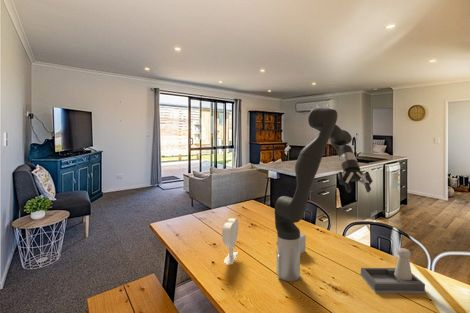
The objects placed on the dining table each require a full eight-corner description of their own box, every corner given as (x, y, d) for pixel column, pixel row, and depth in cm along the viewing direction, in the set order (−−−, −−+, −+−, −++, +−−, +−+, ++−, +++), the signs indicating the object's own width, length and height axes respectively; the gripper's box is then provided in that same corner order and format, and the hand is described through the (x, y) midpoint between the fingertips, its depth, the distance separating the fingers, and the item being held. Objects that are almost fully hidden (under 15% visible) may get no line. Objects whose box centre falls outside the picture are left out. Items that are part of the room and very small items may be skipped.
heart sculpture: (230, 249, 127) (230, 215, 126) (240, 250, 126) (239, 216, 124) (221, 264, 112) (220, 226, 111) (231, 266, 111) (231, 227, 109)
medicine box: (297, 248, 127) (298, 232, 126) (305, 251, 124) (305, 234, 123) (289, 254, 121) (289, 237, 121) (297, 257, 118) (297, 239, 117)
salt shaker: (395, 275, 100) (396, 244, 99) (412, 280, 96) (413, 248, 95) (393, 282, 96) (394, 250, 95) (411, 287, 92) (412, 254, 91)
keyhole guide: (375, 292, 91) (375, 284, 90) (360, 274, 103) (360, 267, 102) (425, 293, 90) (426, 285, 89) (404, 275, 102) (404, 267, 101)
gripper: (336, 159, 119) (345, 187, 109) (366, 158, 118) (378, 186, 108) (332, 168, 125) (340, 195, 114) (361, 168, 124) (372, 195, 114)
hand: (359, 191), depth 111 cm, fingers open, 8 cm apart
